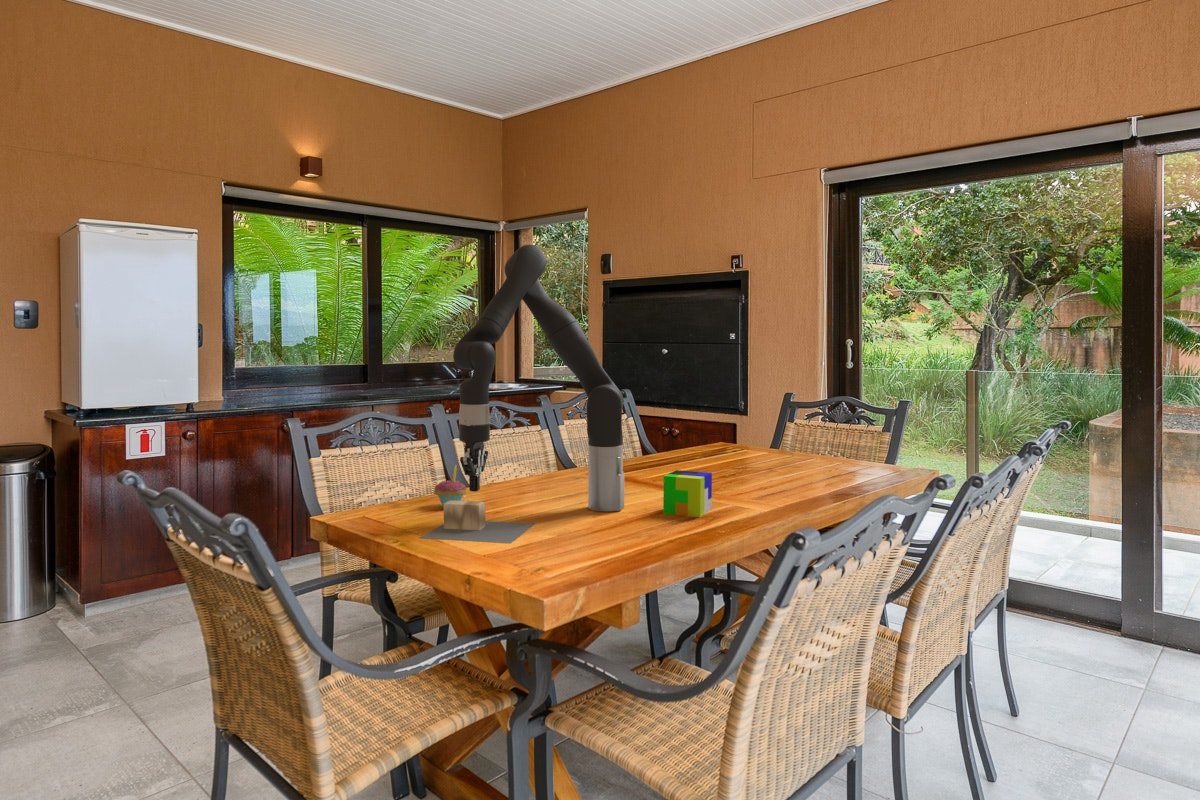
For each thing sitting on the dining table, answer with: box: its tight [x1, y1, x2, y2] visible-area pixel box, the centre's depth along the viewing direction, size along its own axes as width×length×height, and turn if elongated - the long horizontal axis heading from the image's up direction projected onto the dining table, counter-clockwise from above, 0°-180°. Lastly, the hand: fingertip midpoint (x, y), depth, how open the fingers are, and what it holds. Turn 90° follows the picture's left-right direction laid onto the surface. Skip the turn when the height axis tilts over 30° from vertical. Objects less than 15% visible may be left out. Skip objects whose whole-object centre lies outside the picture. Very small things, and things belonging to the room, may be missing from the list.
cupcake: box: [433, 462, 468, 508], centre depth 209 cm, size 9×8×12 cm
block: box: [443, 500, 487, 530], centre depth 184 cm, size 6×4×9 cm
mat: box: [418, 520, 537, 544], centre depth 181 cm, size 22×19×1 cm
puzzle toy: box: [662, 469, 713, 518], centre depth 202 cm, size 10×10×10 cm
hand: (474, 490), depth 191 cm, fingers closed
